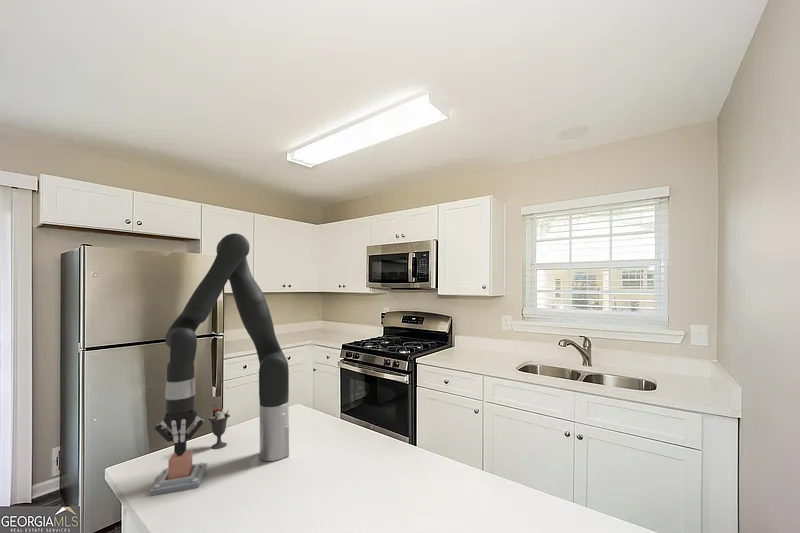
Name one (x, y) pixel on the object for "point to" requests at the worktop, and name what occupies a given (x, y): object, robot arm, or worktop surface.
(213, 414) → the sundae
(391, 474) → the worktop surface
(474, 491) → the worktop surface
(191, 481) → the plate
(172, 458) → the block
